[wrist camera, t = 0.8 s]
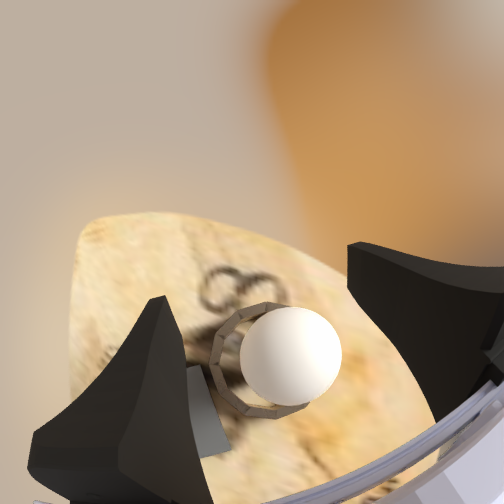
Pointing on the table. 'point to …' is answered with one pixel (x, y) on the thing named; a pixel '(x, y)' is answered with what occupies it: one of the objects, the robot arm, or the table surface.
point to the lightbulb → (290, 356)
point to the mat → (204, 416)
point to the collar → (219, 380)
